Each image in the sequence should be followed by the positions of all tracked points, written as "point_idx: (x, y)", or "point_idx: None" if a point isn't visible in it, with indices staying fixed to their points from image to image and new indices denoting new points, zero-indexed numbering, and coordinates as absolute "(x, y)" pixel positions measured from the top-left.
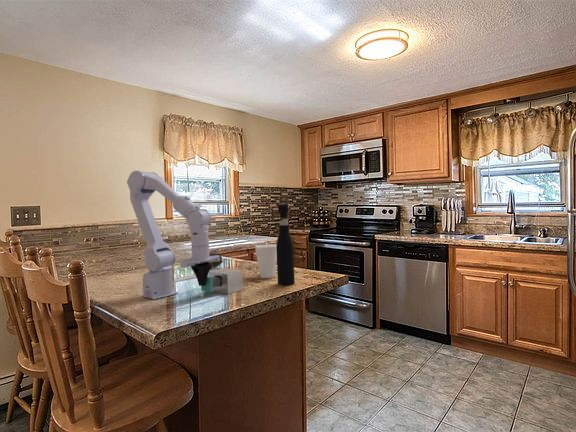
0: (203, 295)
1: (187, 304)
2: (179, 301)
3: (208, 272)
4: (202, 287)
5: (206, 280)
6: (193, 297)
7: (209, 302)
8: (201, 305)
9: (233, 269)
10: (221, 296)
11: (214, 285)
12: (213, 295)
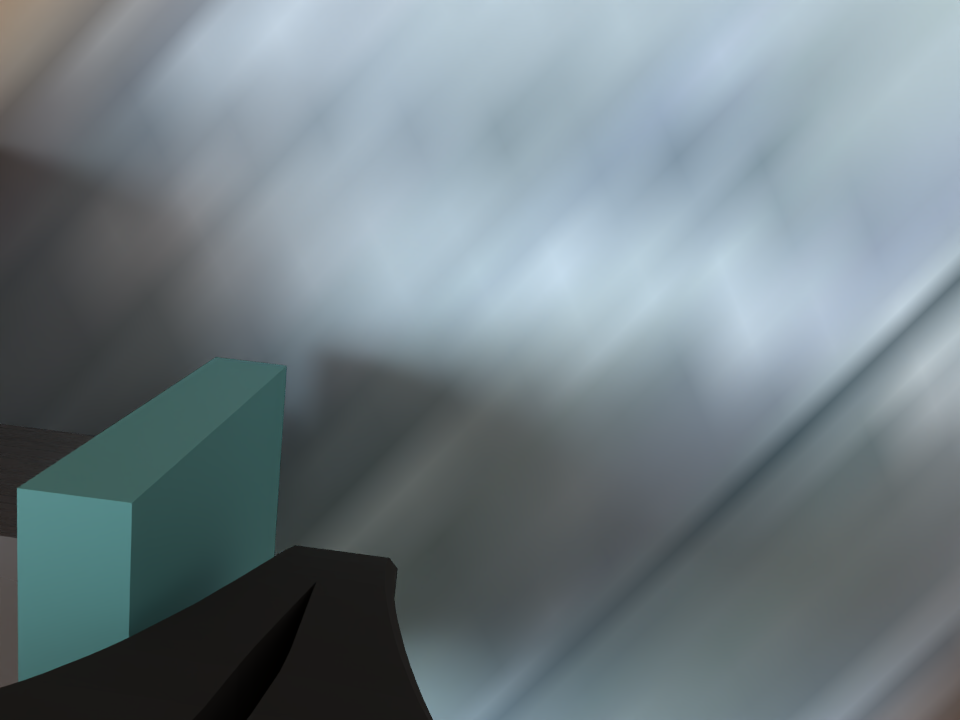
0: None
1: (941, 380)
2: (830, 682)
3: (14, 685)
4: None
5: None
6: (503, 641)
7: (646, 39)
8: (896, 32)
9: None
10: (172, 143)
11: (40, 448)
12: None
